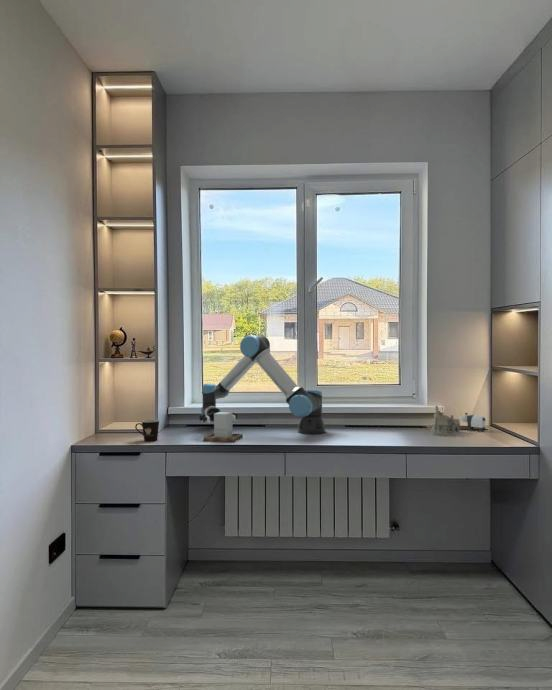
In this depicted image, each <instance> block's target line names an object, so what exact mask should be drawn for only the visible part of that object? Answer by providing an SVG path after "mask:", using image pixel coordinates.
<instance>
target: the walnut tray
mask: <svg viewBox="0 0 552 690" xmlns="http://www.w3.org/2000/svg"><path fill="white" fill-rule="evenodd" d="M242 437H243V438H244V434H243V433H233V432H232V437H230V438H218V437H214V432H213V433H209V434H208V435H205V436H203V442H209V441H211V442H212V443H228V442H234V443H236V442H237V441H236V440H238V439H239V440H241V439H243V438H242ZM240 438H241V439H240ZM239 440H238V441H239ZM235 441H236V442H235Z"/></svg>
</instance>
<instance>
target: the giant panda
mask: <svg viewBox="0 0 552 690" xmlns="http://www.w3.org/2000/svg"><path fill="white" fill-rule="evenodd" d="M458 419H459V420H461V421H462V422H465V423H466V424H467V429H466V431H469V432H470V431H471V432H472V431H474V430H475V428H478V430H477V432H478V433H479V432H480V433H482V432H485V430H486V421H487V420H486V417H484V416H483V415H479V414H469V415H468V412H465V413H463V414H462V415H461V416H459V418H458Z"/></svg>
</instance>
